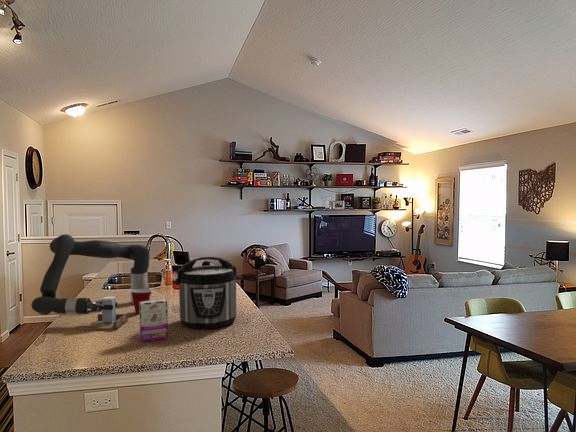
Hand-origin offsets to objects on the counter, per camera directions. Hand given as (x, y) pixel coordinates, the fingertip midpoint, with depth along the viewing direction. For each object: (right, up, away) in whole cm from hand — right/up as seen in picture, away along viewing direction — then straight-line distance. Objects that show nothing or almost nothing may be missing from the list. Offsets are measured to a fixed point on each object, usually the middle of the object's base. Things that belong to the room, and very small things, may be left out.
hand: (114, 306), depth 202 cm
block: (-3, -7, 0) cm, 8 cm away
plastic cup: (+5, -9, +24) cm, 26 cm away
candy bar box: (+25, -10, -20) cm, 33 cm away
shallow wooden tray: (-3, -9, -1) cm, 10 cm away
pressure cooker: (+43, -9, +5) cm, 44 cm away
